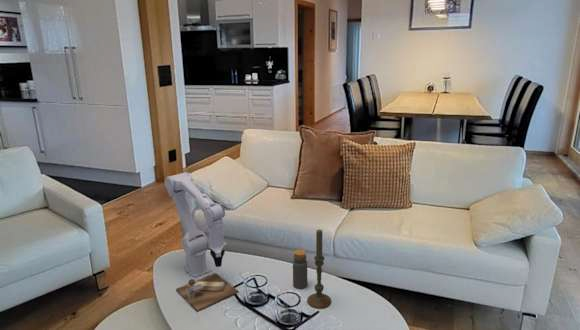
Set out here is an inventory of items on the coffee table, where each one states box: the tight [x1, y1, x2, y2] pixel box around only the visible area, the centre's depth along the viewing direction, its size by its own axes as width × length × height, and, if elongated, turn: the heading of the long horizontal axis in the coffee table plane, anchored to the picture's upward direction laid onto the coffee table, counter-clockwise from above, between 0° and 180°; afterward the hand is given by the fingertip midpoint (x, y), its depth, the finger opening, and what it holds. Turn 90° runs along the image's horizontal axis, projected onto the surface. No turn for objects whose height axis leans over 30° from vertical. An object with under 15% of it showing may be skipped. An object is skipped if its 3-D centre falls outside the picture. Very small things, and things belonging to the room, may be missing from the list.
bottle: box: [292, 248, 308, 290], centre depth 157 cm, size 6×6×15 cm
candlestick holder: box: [306, 229, 332, 310], centre depth 144 cm, size 9×9×30 cm
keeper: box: [186, 284, 204, 300], centre depth 150 cm, size 3×6×4 cm, turn 125°
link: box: [187, 278, 225, 291], centre depth 155 cm, size 14×3×3 cm, turn 85°
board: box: [175, 272, 239, 313], centre depth 155 cm, size 18×18×1 cm
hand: (218, 264), depth 159 cm, fingers closed
